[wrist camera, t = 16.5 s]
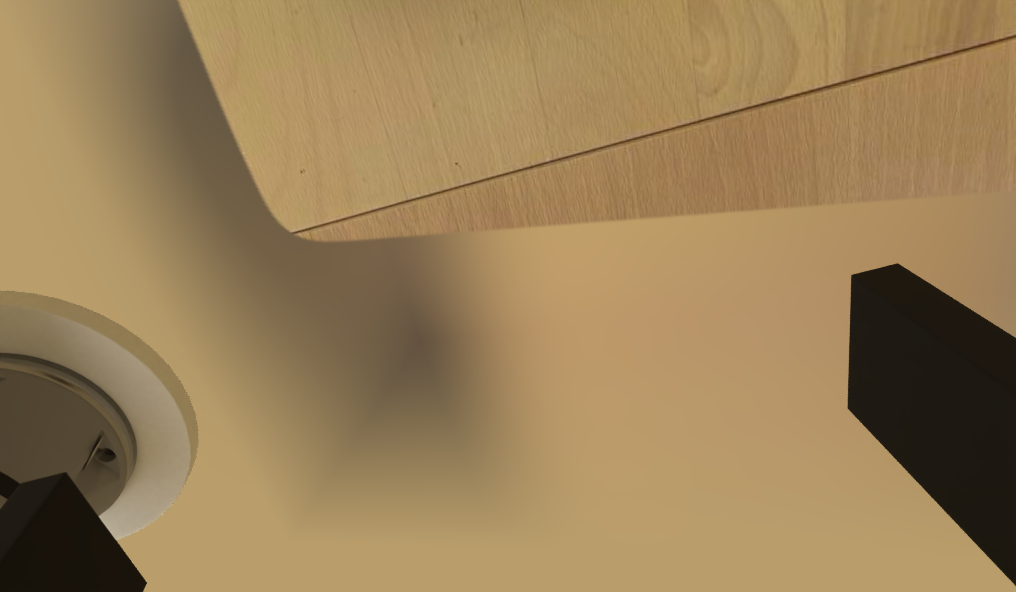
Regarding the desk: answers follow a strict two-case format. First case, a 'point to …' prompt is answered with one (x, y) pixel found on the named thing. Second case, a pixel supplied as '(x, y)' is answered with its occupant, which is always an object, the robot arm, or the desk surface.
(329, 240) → the desk surface
